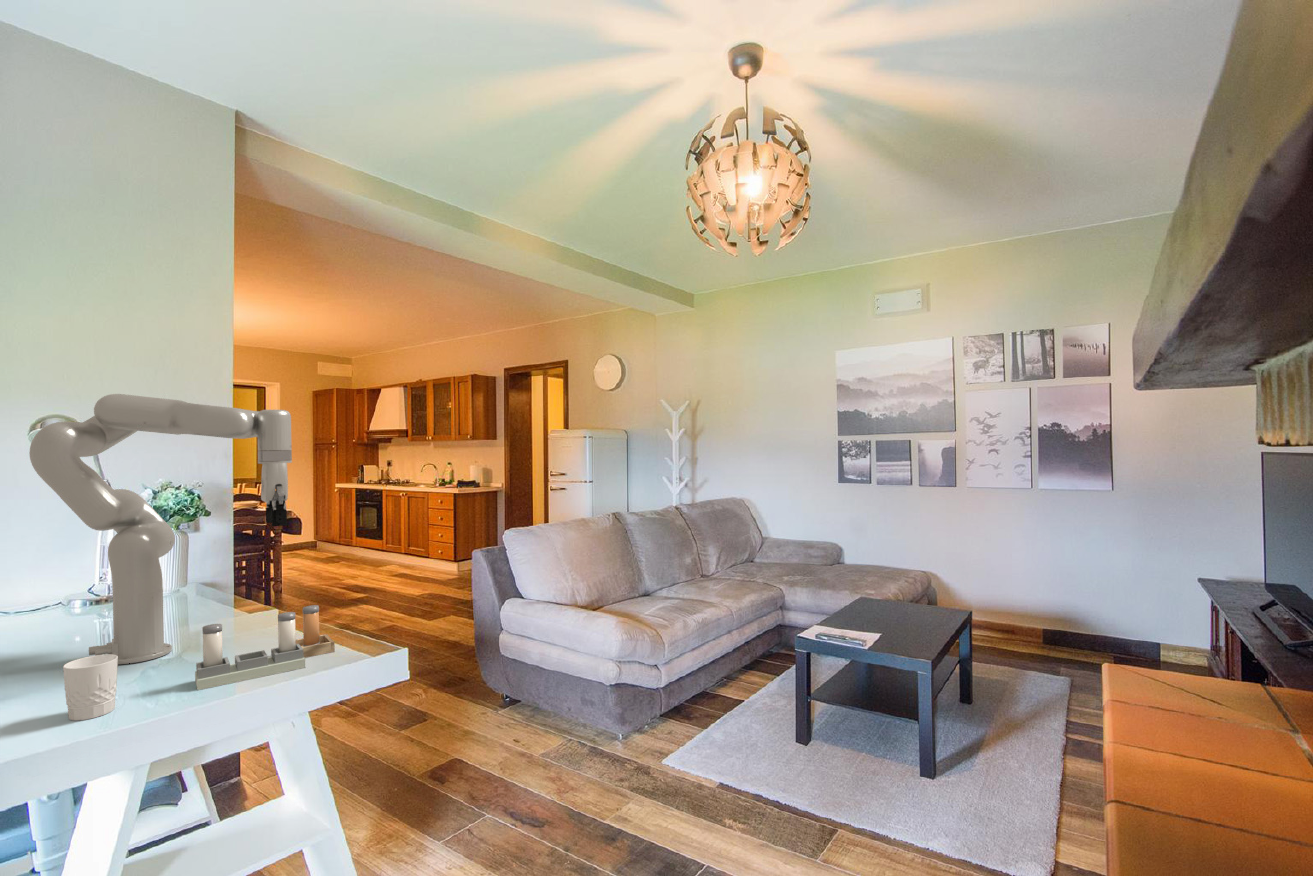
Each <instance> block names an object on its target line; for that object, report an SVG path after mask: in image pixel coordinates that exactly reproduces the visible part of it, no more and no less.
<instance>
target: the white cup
mask: <svg viewBox="0 0 1313 876" xmlns="http://www.w3.org/2000/svg"><path fill="white" fill-rule="evenodd" d="M118 666H119V664H118V656H117V655H111V654H102V655H96V656H95V655H89V656H86V657H85V656H84V657H81V658H78V659H74V660H71V661H69V662H67V663H65V664H64V665H63V667H62V670H63V681H64V684H63V685H64V691H65V699H66V701H65V702H66V704H65V705H66V706H67V715H68V716H67V717H68V720H70V721H86V720H91V719H95V718H96V719H97V718H98V717H99V718H100V717H103V716H105V715H108V714H110V713H111V712H113V711H114V710H115V708H116V694H117V685H118V684H117V683H118Z"/></svg>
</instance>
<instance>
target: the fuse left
mask: <svg viewBox="0 0 1313 876" xmlns="http://www.w3.org/2000/svg"><path fill="white" fill-rule="evenodd" d="M201 629H202V651H203V652H202V654H203V655H202V656H203V657H202V659H203V661H202V662H203V668H206V667H211V666H217V665H222V664H223V658H224V657H223V624H222V623H212V624H207V625H204V626H203V627H202V628H201Z"/></svg>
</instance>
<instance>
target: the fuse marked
mask: <svg viewBox="0 0 1313 876" xmlns="http://www.w3.org/2000/svg"><path fill="white" fill-rule="evenodd" d="M319 614H320V606H319V605H318V604H317V605H315V604H312V605H307V606H303V607H302V626H303V627H302V629H303V633H302V634H303V641H304V644H303V647H305V646H311V645H316V644H320V642H319V635H320V615H319Z"/></svg>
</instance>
